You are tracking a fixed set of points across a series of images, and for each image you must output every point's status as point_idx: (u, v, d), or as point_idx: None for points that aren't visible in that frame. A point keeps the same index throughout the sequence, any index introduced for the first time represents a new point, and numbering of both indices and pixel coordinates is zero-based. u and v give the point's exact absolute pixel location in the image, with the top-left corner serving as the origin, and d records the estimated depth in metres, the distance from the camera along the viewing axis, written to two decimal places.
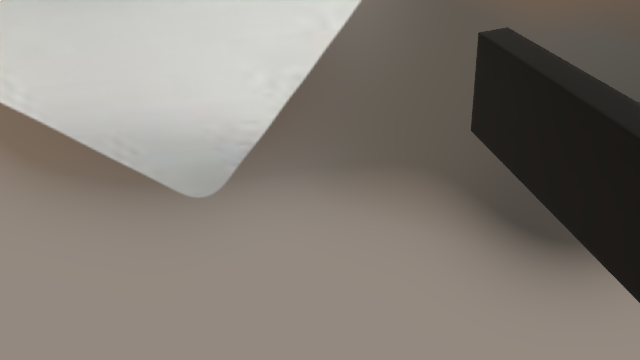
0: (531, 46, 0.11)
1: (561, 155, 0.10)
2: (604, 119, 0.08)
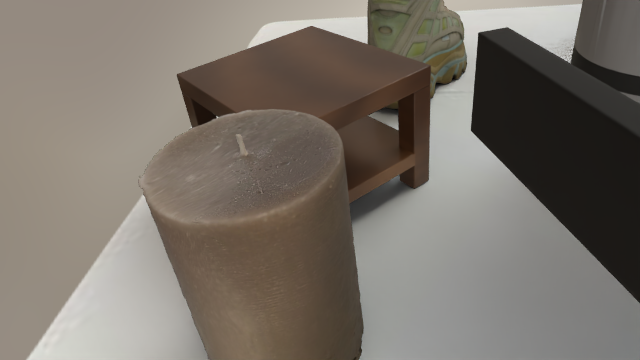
0: (531, 46, 0.11)
1: (561, 155, 0.10)
2: (604, 119, 0.08)
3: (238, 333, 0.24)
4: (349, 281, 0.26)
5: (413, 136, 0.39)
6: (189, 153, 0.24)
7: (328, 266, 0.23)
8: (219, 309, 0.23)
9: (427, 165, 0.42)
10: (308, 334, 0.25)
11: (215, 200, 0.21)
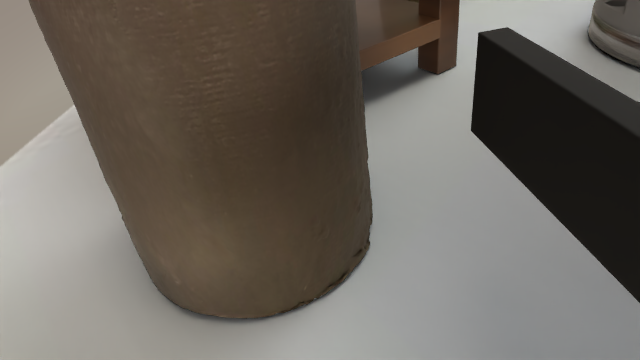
0: (531, 46, 0.11)
1: (561, 155, 0.10)
2: (604, 119, 0.08)
3: (159, 164, 0.14)
4: (352, 102, 0.16)
5: None
6: None
7: (315, 40, 0.13)
8: (123, 113, 0.13)
9: (455, 42, 0.32)
10: (282, 176, 0.15)
11: None
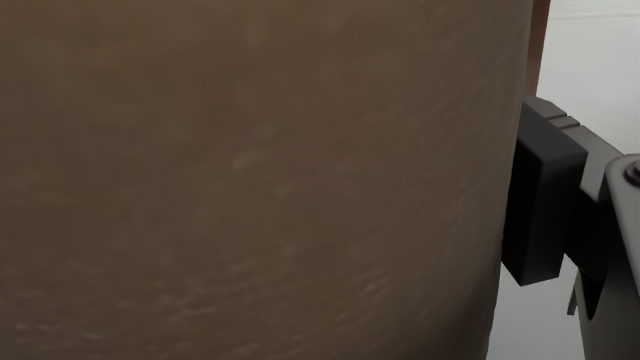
0: None
1: None
2: None
3: None
4: (491, 328, 0.08)
5: None
6: None
7: (467, 286, 0.06)
8: None
9: None
10: None
11: None
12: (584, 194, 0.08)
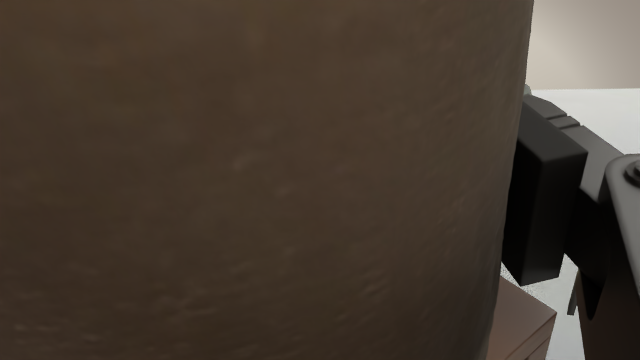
0: None
1: None
2: None
3: None
4: (491, 328, 0.08)
5: None
6: None
7: (469, 287, 0.06)
8: None
9: None
10: None
11: None
12: (583, 194, 0.08)
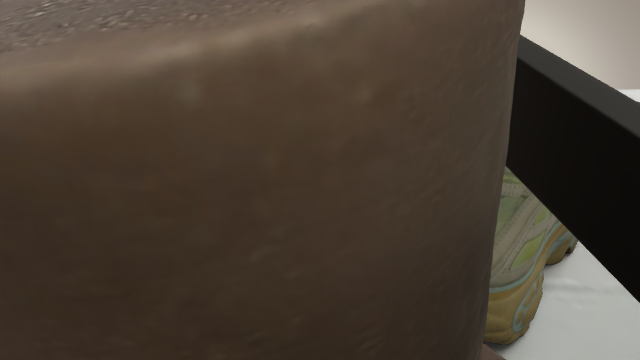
0: (531, 46, 0.11)
1: (561, 155, 0.10)
2: (604, 119, 0.08)
3: None
4: (479, 358, 0.09)
5: None
6: None
7: (455, 332, 0.06)
8: None
9: None
10: None
11: None
12: None
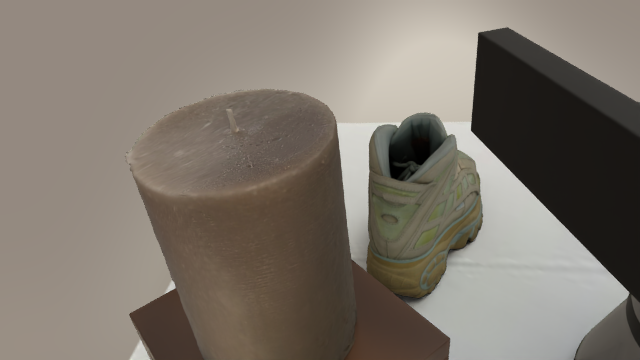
0: (531, 46, 0.11)
1: (561, 155, 0.10)
2: (604, 119, 0.08)
3: (227, 315, 0.23)
4: (342, 264, 0.25)
5: None
6: (179, 130, 0.24)
7: (320, 246, 0.23)
8: (208, 290, 0.22)
9: None
10: (299, 318, 0.24)
11: (204, 174, 0.20)
12: None
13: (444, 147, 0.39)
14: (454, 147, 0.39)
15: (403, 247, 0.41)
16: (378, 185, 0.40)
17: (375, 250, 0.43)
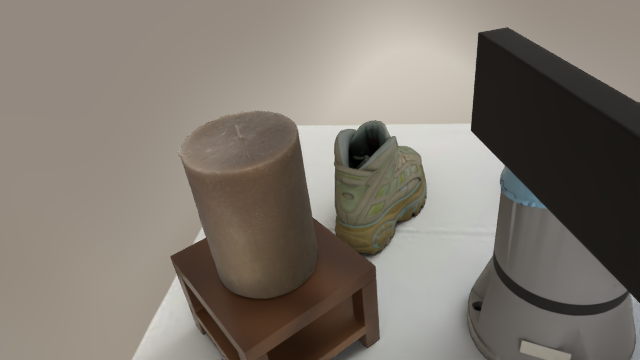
0: (531, 46, 0.11)
1: (561, 155, 0.10)
2: (604, 119, 0.08)
3: (235, 244, 0.40)
4: (304, 216, 0.42)
5: (363, 314, 0.48)
6: (207, 137, 0.40)
7: (288, 203, 0.40)
8: (225, 228, 0.39)
9: (377, 329, 0.51)
10: (277, 246, 0.41)
11: (223, 161, 0.37)
12: None
13: (385, 145, 0.56)
14: (392, 145, 0.56)
15: (358, 216, 0.58)
16: (339, 172, 0.56)
17: (339, 219, 0.60)
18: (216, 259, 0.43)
